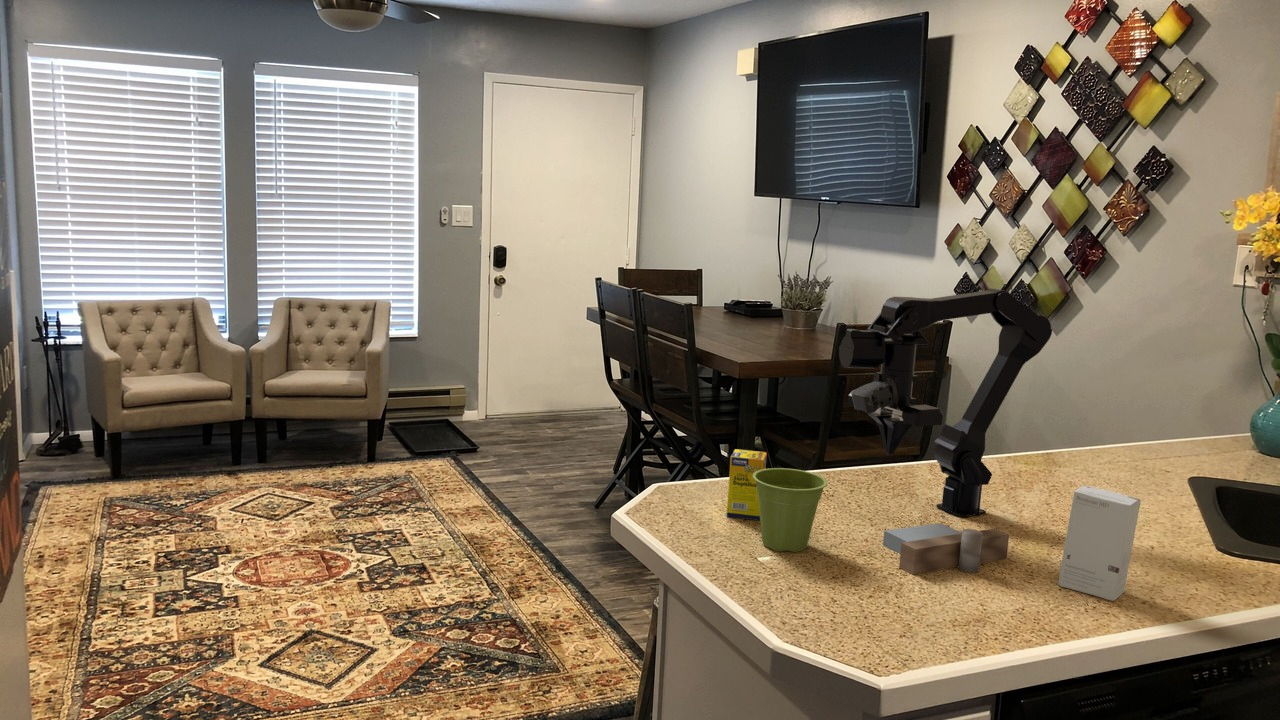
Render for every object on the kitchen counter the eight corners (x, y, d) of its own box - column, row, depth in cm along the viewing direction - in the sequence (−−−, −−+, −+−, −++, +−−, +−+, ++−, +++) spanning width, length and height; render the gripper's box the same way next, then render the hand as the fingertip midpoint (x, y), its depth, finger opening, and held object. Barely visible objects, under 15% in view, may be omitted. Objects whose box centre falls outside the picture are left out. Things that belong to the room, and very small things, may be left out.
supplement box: (760, 521, 172) (764, 459, 170) (725, 517, 173) (729, 456, 171) (763, 511, 177) (767, 451, 176) (729, 507, 179) (733, 448, 177)
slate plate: (939, 540, 168) (940, 523, 167) (973, 556, 160) (975, 538, 160) (882, 548, 162) (884, 530, 162) (915, 565, 155) (917, 546, 155)
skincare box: (1057, 586, 148) (1069, 490, 146) (1070, 576, 152) (1081, 483, 150) (1117, 603, 143) (1130, 503, 140) (1128, 592, 147) (1141, 495, 145)
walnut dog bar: (992, 551, 162) (996, 516, 161) (1021, 564, 157) (1025, 528, 156) (899, 567, 152) (902, 530, 151) (927, 581, 147) (931, 542, 146)
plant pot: (739, 550, 156) (744, 481, 155) (758, 528, 167) (763, 464, 166) (813, 563, 152) (819, 493, 150) (828, 540, 163) (834, 474, 161)
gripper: (828, 361, 180) (821, 444, 182) (899, 379, 164) (890, 471, 166) (875, 359, 185) (868, 440, 188) (949, 377, 169) (940, 466, 172)
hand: (889, 454), depth 178 cm, fingers closed
